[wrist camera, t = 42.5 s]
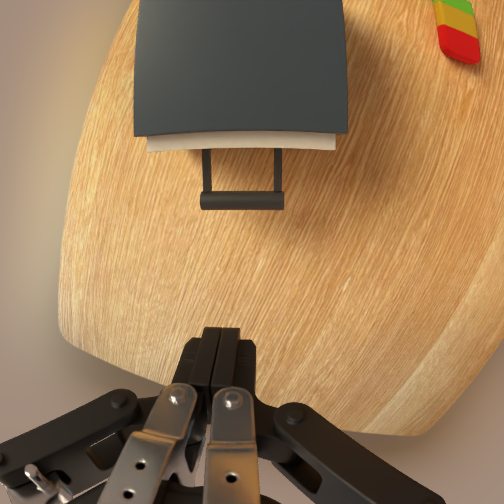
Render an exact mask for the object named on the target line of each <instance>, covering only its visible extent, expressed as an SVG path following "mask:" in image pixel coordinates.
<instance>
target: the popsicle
mask: <svg viewBox="0 0 504 504" xmlns="http://www.w3.org/2000/svg"><path fill="white" fill-rule="evenodd" d="M433 5H434V11H435V16H436V23H437V29H438V37H439V44H440V48H441V50H442V52H443V53H444V54H445V55H447V56H449V57H451V58H454V59H457V60H459V61H462V62H464V63H467V64H476V63H478V62H479V61H480V58H481V57H480V48H479V41H478V35H477V29H476V24H475V19H474V14H473V9H472V5H471V3H470V2H469V1H467V0H433Z"/></svg>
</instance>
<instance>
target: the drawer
mask: <svg viewBox="0 0 504 504" xmlns="http://www.w3.org/2000/svg"><path fill="white" fill-rule="evenodd" d="M335 145H336V134H335V133H324V132H306V131H276V130H237V131H207V132H189V133H175V134H163V135H153V136H147V152H159V151H173V150H189V149H202V167H203V191H202V192H201V195H200V207H201V210H284V191H282V148H298V149H320V150H335ZM211 148H274V191H212V179H211Z"/></svg>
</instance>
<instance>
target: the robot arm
mask: <svg viewBox="0 0 504 504" xmlns="http://www.w3.org/2000/svg"><path fill="white" fill-rule="evenodd" d="M255 386H256V346H255V345H254V343H253V341H252V340H241V339H240V328H225V327H223V328H222V327H205V328H204V330H203V334H202V337H201V338H194V337H192V338H191V339H190V340H189V341H188V342H187V343H186V344H185V346H184V349H183V352H182V355H181V358H180V361H179V363H178V366H177V369H176V372H175V375H174V377H173V380H172V383H171V384H170V385H168V386H166V387H164V388H163V389H162V390H161V392H160V394H159V395H158V396H156V397H149V398H140V399H137V396H136V395H135V393H133V392H132V391H130V390H127V389H116V390H113V391H110V392H108V393H107V394H105V395H103V396H101V397H99V398H97V399H95V400H93V401H91V402H89V403H87V404H85V405H83V406H81V407H79V408H77V409H75V410H73V411H71V412H69V413H67V414H65V415H62V416H61V417H58V418H56V419H54V420H52V421H50V422H48V423H46V424H43V425H41V426H39V427H37V428H35V429H33V430H30V431H29V432H26V433H24V434H21V435H19V436H17V437H15V438H13V439H10V440H8V441H5V442H3V443H1V444H0V483H1V484H2V485H3V486H4V487H5V489H6V491H7V493H8V496H9V498H10V501H11V503H12V504H281V503H279V502H277V501H276V500H273V499H271V498H269V497H267V496H264V495H261V494H260V487H259V473H258V457H260V458H263V459H267V460H270V461H271V462H272V464H273V465H274V467H276V468H277V469H278V470H279V471H280V472H281V473H282V474H283V475H284V476H285V477H286V478H287V479H288V480H289V481H291V482H292V483H293V484H294V485H295V486H296V487H297V488H298V489H299V490H300V491H301V492H303V493H304V494H305V495H306V496H307V497H308V498H310V499H311V500H312V501H313V502H314V503H315V504H446V503H445V501H444V499H443V498H442V497H441V496H439V495H438V494H436V493H434V492H433V491H431V490H429V489H428V488H426V487H424V486H423V485H421V484H419V483H418V482H416V481H414V480H413V479H411V478H410V477H408V476H407V475H405V474H403V473H402V472H400V471H399V470H397V469H396V468H394V467H393V466H391V465H389V464H388V463H387V462H385V461H384V460H382V459H381V458H379V457H378V456H376V455H375V454H373V453H372V452H370V451H369V450H367V449H366V448H365V447H363V446H361V445H360V444H359V443H357V442H356V441H355V440H353V439H352V438H350V437H349V436H348V435H346V434H345V433H344V432H342V431H341V430H339V429H338V428H337V427H335V426H334V425H333V424H331V423H330V422H329V421H327V420H326V419H325V418H323V417H322V416H321V415H320V414H318V413H317V412H316V411H314V410H313V409H312V408H311V407H309V406H307V405H305V404H303V403H298V402H291V403H286V404H284V405H282V406H280V407H279V408H276V407H272V406H269V405H266V404H264V403H262V402H261V401H260V400H259V399H258V398H257V397H256V395H255ZM207 424H211V431H210V442H209V444H207V448H206V461H205V475H204V486H199V487H195V476H196V472H197V468H198V465H199V461H200V457H201V454H202V451H203V447H204V444H205V440H206V438H205V433H206V428H207ZM113 433H115V434H113ZM111 434H113V435H111ZM109 435H111V436H110V437H108V438H106V437H107V436H109ZM104 438H106V439H104ZM102 439H104V440H102ZM100 440H102V441H100ZM98 441H100V442H99V443H97V444H95V445H93V444H94V443H96V442H98ZM91 445H93V446H91ZM90 446H91V447H90ZM108 477H109V479H108V481H105V482H103V483H102V484H99V485H98V486H96V487H94V488H92V489H91V490H89V491H87V492H85V493H84V494H82V495H80V496H78V497H76V498H75V499H73V496H74V495H76V494H78V493H80V492H82V491H84V490H86V489H88V488H90V487H92V486H94V485H95V484H97V483H99V482H101V481H103V480H104V479H106V478H108Z"/></svg>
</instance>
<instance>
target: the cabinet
mask: <svg viewBox="0 0 504 504" xmlns="http://www.w3.org/2000/svg"><path fill="white" fill-rule="evenodd" d="M237 130H276V131H306V132H324V133H335V134H336V135H337V134H347V133H348V86H347V58H346V40H345V26H344V14H343V4H342V0H140V5H139V13H138V23H137V35H136V49H135V67H134V137H147V136H153V135H163V134H175V133H189V132H207V131H237Z"/></svg>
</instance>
